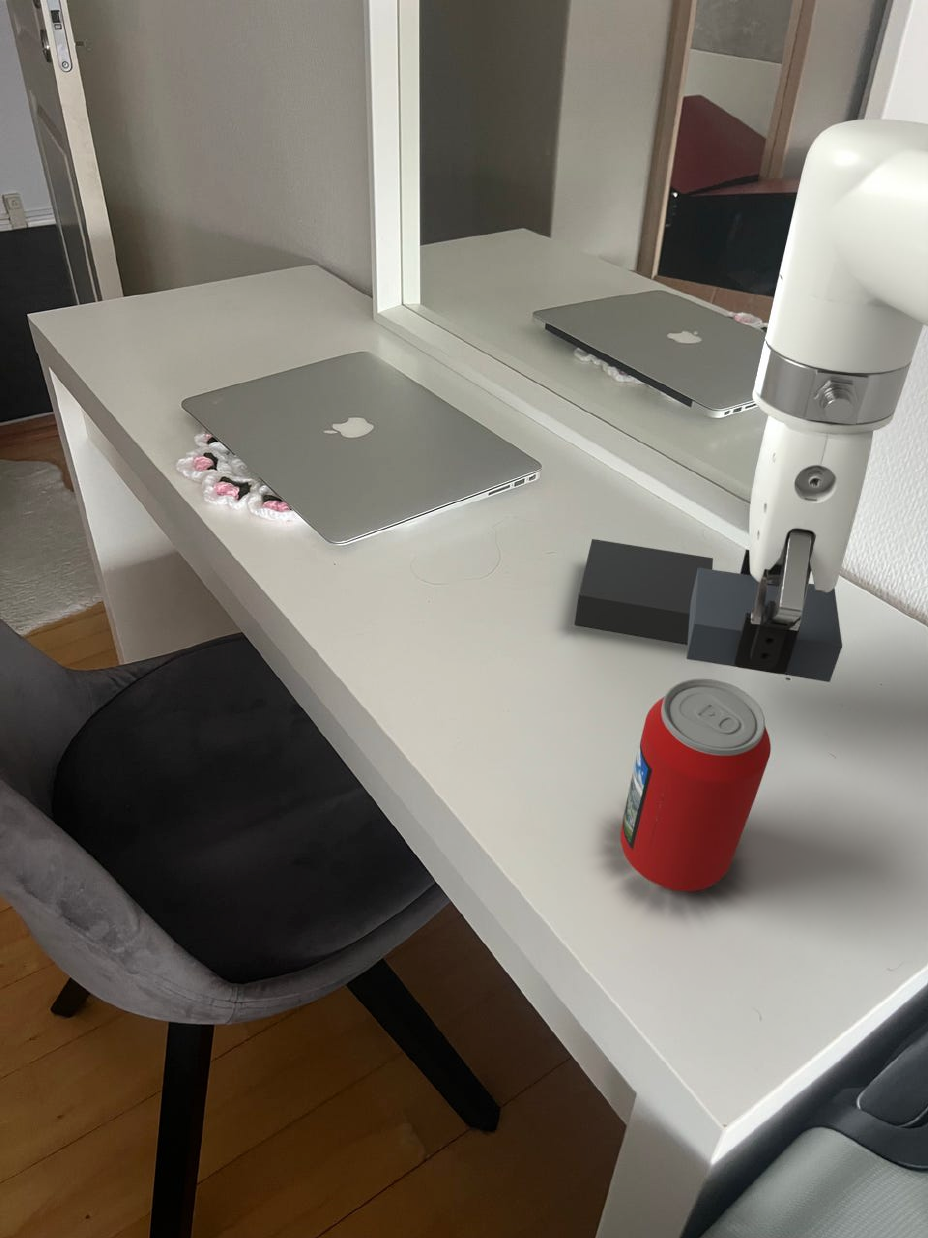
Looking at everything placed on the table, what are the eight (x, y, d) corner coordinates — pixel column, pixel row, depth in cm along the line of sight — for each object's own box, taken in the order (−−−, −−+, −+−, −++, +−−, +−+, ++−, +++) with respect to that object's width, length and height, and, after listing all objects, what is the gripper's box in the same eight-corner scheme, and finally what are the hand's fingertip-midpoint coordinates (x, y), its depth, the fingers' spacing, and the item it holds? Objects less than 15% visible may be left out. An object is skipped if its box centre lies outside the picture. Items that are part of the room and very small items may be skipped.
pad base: (705, 587, 77) (713, 557, 75) (702, 647, 71) (710, 617, 69) (587, 567, 78) (592, 538, 76) (574, 624, 72) (578, 594, 70)
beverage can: (660, 790, 59) (696, 652, 52) (750, 853, 56) (803, 715, 48) (595, 849, 56) (623, 710, 48) (687, 921, 52) (733, 782, 44)
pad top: (823, 622, 63) (834, 586, 61) (829, 682, 58) (842, 646, 56) (690, 602, 64) (698, 567, 63) (686, 659, 60) (694, 623, 58)
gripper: (925, 461, 43) (825, 734, 54) (882, 329, 56) (809, 569, 67) (759, 442, 44) (695, 711, 55) (756, 317, 57) (705, 555, 68)
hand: (758, 631), depth 61 cm, fingers closed on pad top, 6 cm apart
